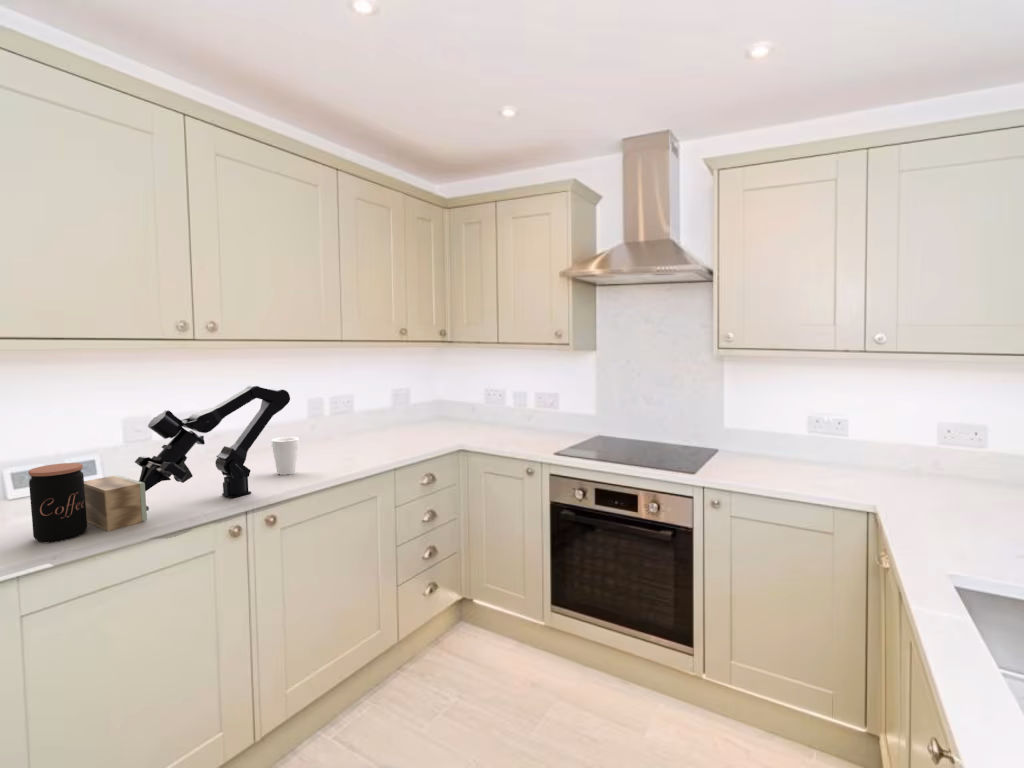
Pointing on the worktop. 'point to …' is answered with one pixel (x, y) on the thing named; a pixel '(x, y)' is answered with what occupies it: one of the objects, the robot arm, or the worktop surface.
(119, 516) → the cabinet
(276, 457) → the foam cup
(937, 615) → the worktop surface
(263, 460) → the worktop surface
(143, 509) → the door
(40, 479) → the coffee jar
